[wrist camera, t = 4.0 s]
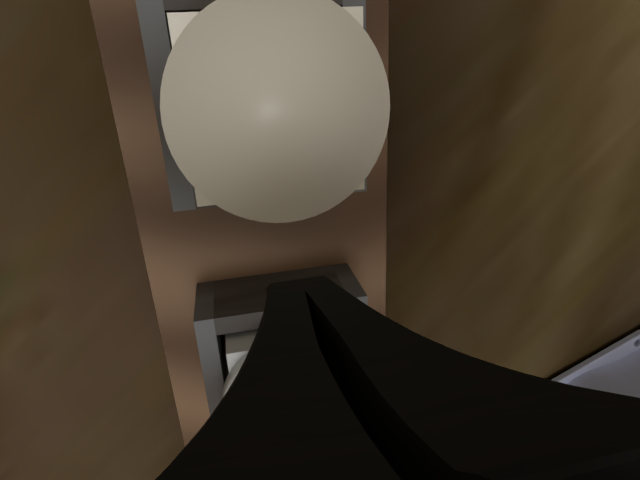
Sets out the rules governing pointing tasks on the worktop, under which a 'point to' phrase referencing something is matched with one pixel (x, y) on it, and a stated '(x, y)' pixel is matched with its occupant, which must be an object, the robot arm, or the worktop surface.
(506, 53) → the worktop surface
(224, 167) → the knob
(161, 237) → the knob backing plate
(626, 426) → the robot arm
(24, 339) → the worktop surface
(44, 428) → the worktop surface
